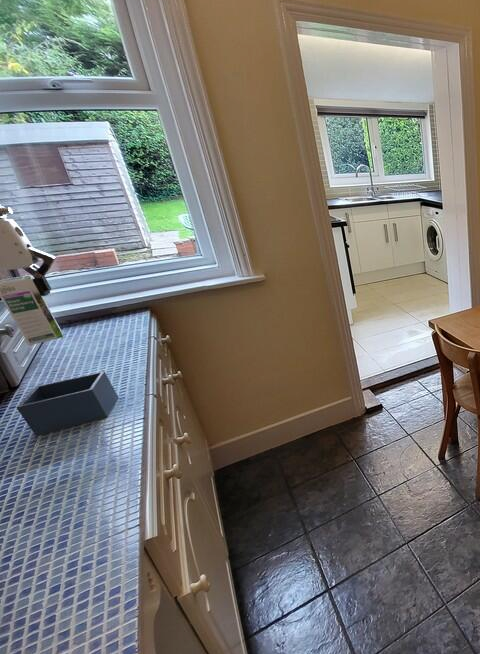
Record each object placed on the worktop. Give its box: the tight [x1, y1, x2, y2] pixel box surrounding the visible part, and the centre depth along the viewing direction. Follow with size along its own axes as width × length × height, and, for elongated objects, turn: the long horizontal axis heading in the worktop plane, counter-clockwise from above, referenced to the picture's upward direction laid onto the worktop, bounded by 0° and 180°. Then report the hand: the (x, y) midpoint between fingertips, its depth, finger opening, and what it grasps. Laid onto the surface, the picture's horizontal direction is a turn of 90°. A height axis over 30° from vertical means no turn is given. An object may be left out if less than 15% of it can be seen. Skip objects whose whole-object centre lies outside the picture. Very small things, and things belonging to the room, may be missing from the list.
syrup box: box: [0, 274, 64, 346], centre depth 92 cm, size 6×6×14 cm
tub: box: [16, 370, 119, 437], centre depth 95 cm, size 12×10×8 cm
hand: (22, 297), depth 91 cm, fingers closed on syrup box, 6 cm apart
